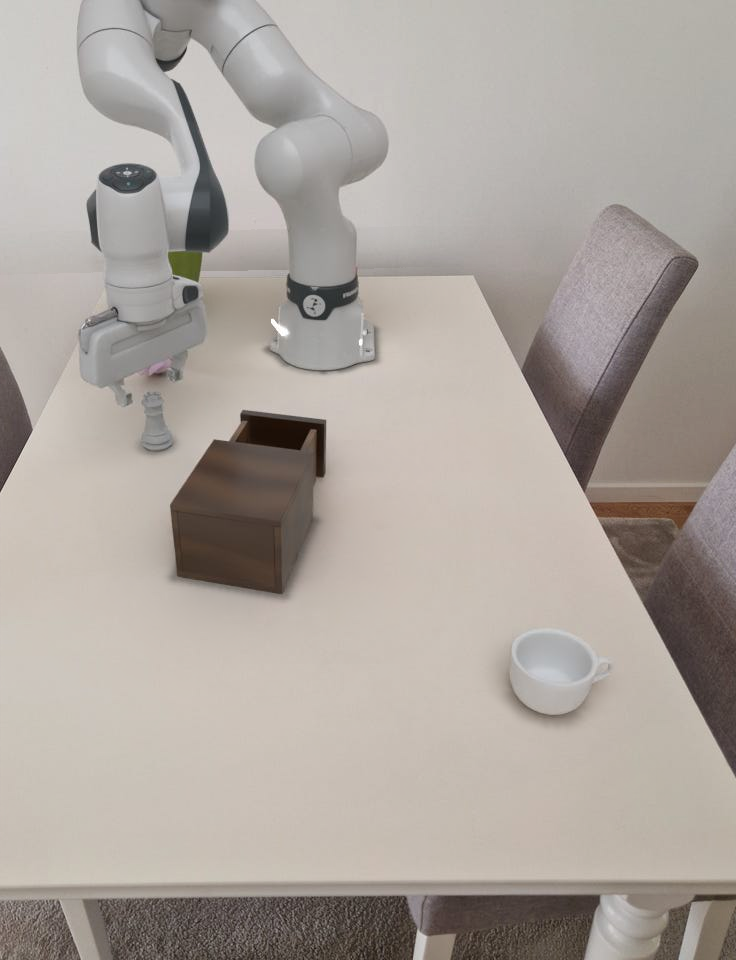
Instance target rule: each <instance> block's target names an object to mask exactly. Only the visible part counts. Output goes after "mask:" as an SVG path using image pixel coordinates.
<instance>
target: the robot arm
mask: <svg viewBox="0 0 736 960" xmlns="http://www.w3.org/2000/svg"><path fill="white" fill-rule="evenodd" d="M191 40H192V41H193V40H194V41H195V42H196V43H198V44H199V45H201V46H202V47H203V48H204V49H205V50H206V51H207V52H208V54H209V56H210V58H211V59H212V61H213V63H214V64H215V66H216V67H217V69H218V70H219V72H220V74H221V75H222V76H223V79H224V80H226V82H227V83H228V85H229V87H230V88H231V89H232V91H233V92H234V94H235V95H236V96H237V98H238V99H239V100H240V102H241V103H242V105H243V106H244V107H245V109H246V110H247V111H248V113H249V114H250V115H251V116H252V117H253V118H254V119H255V120H257V121H258V122H261V123H263V124H265V125H268V126H270V127H273V128H274V130H272V131H270V132H269V133H267V134H266V135H264V136H263V137H262V138H260V140H259V142H258V143H257V146H256V148H255V152H254V159H253V160H254V161H253V165H254V171H255V175H256V178H257V181H258V182H259V184H260V186H261V188H262V189H263V191H264V192H265V193H266V194H268V195H269V196H270V197H272V198H273V199H274V200H275V202H276V203H277V205H278V206H279V208H280V210H281V213H282V216H283V218H284V222H285V225H286V231H287V240H288V242H287V243H288V244H287V245H288V274H287V275H286V283H285V289H286V297H287V298H286V299H285V301H282V303H281V304H280V305H279V307H278V320H277V322H276V321H275V319H274V318H271V324H272V325H273V326H274V328H275V329H276V331H277V337H276V338H274V339H273V340H272V341H271V342H270V343H269V347H268V348H269V350H270V351H271V352H273V353H275V354H277V355H279V356H280V358H281V359H282V360H283V361H285V362H286V363H288V364H290V365H291V366H293V367H297V368H299V369H305V370H312V371H333V370H340V369H344V368H348V367H352V366H353V365H356V364H359V363H366V362H367V363H368V362H372V361H374V360H375V359H376V349H375V347H376V346H375V325H374V323H373V322H372V321H370V320H366V319H365V313H364V311H363V309H364V305H363V304H364V302H363V300H362V299H361V298H360V296H359V288H360V282H359V277H358V266H357V249H358V248H357V245H358V233H357V232H358V231H357V228H356V226H355V225H354V223H353V222H352V221H351V220H350V219H349V218H348V217H346V216H344V214H343V211H342V207H341V204H340V197H339V195H340V194H339V192H340V190H341V189H340V188H343V187H345V186H349V185H352V184H355V183H358V182H361V181H363V180H364V179H366V178H367V177H368V176H370V175H372V174H373V173H374V172H375V171H376V170H378V169H379V168H380V167H381V166H383V165H382V164H383V163H384V162H385V161H386V158H387V156H388V152H389V135H388V131H387V128H386V126H385V124H384V122H383V121H382V120H381V118H380V117H379V116H378V115H377V114H375V113H373V112H372V111H368V110H366V109H364V108H361V107H359V106H357V105H356V104H354V103H352V102H350V101H349V100H348V99H347V98H345V97H344V96H343V95H342V94H340V93H339V92H338V91H336V90H335V89H334V88H333V87H331V86H330V85H329V84H328V83H326V82H325V81H324V80H323V79H322V78H321V77H319V76H318V75H317V74H316V72H314V70H312V69H311V68H310V67H309V66H308V65H307V63H306V62H305V61H304V60H303V58H302V57H301V56H300V54H299V53H298V52H297V50H296V48H295V47H294V45H292V43H291V42H290V40H288V38H287V36H285V34H284V33H283V31H282V30H281V28H280V27H279V26H278V24H277V23H276V22H275V21H274V19H273V18H272V17H271V15H270V14H268V11H266V9H264V7H262V6H261V4H260V3H259V2H258V1H257V0H81V3H80V6H79V11H78V17H77V26H76V60H77V69H78V76H79V81H80V84H81V88H82V92H83V94H84V97H85V98H86V100H87V101H88V103H89V104H90V105H91V106H92V107H93V108H94V109H95V110H96V112H98V113H100V114H101V115H103V116H104V117H105V118H107V119H108V120H111V121H113V122H114V123H115V122H116V123H118V124H120V125H126V126H129V127H134V128H138V129H143V130H145V131H148V132H151V133H153V134H156V135H158V136H160V137H162V138H164V139H166V140H167V141H168V142H169V143H170V145H171V147H172V149H173V152H174V156H175V159H176V162H177V164H178V167H179V170H180V173H181V175H178V176H169V177H168V176H167V177H159V175H158V173H157V172H156V171H155V170H154V169H153V168H152V167H149V166H147V165H144V164H139V163H133V162H132V163H129V162H128V163H118V164H114V165H111V166H109V167H106V168H104V169H103V170H102V171H100V173H99V174H98V175H97V179H96V188H95V189H94V190H93V191H92V193H91V194H90V196H89V197H88V198H87V200H86V212H87V218H88V224H89V230H90V240H91V241H90V243H91V245H93V246H94V247H95V248H96V249H97V250H98V251H99V252H100V253H102V255H103V259H104V269H103V277H102V278H103V284H104V291H105V292H104V293H105V299H106V307H107V309H106V310H104V311H101V312H100V313H98V314H95V315H94V314H93V315H90V316H88V317H86V318H85V319H84V322H83V323H82V324H81V326H80V327H79V329H78V330H77V339H78V365H79V366H78V367H79V375H80V378H81V379H82V380H83V381H84V382H86V383H87V384H89V385H91V386H93V387H96V388H97V389H98V388H99V389H104V388H106V387H108V389H110V390H111V391H112V392H113V394H114V398H115V402H116V403H115V404H117V406H119V407H121V408H126V407H127V406H129V405H131V404H133V393H132V392H131V391H128V390H126V389H124V388H123V387H122V386H125V379H126V378H128V377H130V376H133V375H135V374H137V373H139V371H142V370H144V369H146V368H148V367H150V366H153V365H155V364H157V363H159V362H161V361H164V360H166V359H168V358H170V357H173V358H172V360H171V361H172V362H171V366H170V367H169V368H167V369H166V370H165V371H166V379H167V380H168V381H169V382H171V383H172V384H173V383H174V384H175V383H177V382H180V381H182V380H183V379H184V375H183V369H184V366H185V364H186V361H187V358H188V350H190V349H193V348H195V347H197V346H200V345H202V344H203V343H204V341H205V340H206V338H207V336H208V321H207V311H206V306H205V303H204V301H203V300H202V298H203V296H204V287H203V285H202V283H200V282H195V281H193V280H190V279H187V278H184V277H180V276H176V275H173V274H172V269H171V266H170V263H169V260H168V252H175V251H186V252H202V253H208V254H209V253H211V252H212V251H213V250H215V249H216V248H217V247H218V246H219V245H220V244H221V243H222V242H223V241H224V240H225V238H226V237H227V236H228V234H229V228H230V220H231V219H230V208H229V202H228V200H227V197H226V194H225V192H224V191H223V188H222V185H221V182H220V181H219V178H218V176H217V174H216V172H215V169H214V168H213V165H212V162H211V159H210V156H209V153H208V150H207V147H206V144H205V141H204V138H203V136H202V133H201V130H200V127H199V124H198V122H197V119H196V115H195V113H194V111H193V108H192V105H191V103H190V100H189V97H188V96H187V93H186V91H185V89H184V87H183V86H182V85H181V83H180V82H178V81H176V80H175V79H173V78H170V77H169V76H168V75H167V74H166V73H167V72H171V71H172V70H174V69H175V68H176V67H177V66H178V65H179V64H180V63H181V62H182V59H183V58H184V56H185V55H186V53H187V50H188V45H189V43H190V41H191Z"/></svg>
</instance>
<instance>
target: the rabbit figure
mask: <svg viewBox="0 0 736 960" xmlns="http://www.w3.org/2000/svg"><path fill="white" fill-rule="evenodd" d="M172 358H173V357H170V358H168V359H166V360H164V361H161V362H159V363H157V364H155V365H153V366H150V367H148V368H146V369H144V370H142V371H139V372H138V375H139V376H142V375H143V374H145V372H146V371H148V376H149V377H150V376H152V375H153V374H160V373H164V372H165V371H166V369H167V368H169V367H170V366H171V362H172Z"/></svg>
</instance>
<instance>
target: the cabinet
mask: <svg viewBox="0 0 736 960" xmlns="http://www.w3.org/2000/svg"><path fill="white" fill-rule="evenodd" d="M169 509H170V519H171V520H170V521H171V529H172V539H173V548H174V558H175V567H176V568H175V569H176V576H177V577H180V578H187V579H192V580H197V581H198V580H199V581H204V582H210V583H215V584H220V585H225V586H233V587H239V588H245V589H250V590H256V591H263V592H268V593H274V594H279V595H280V594H281V595H282V594H283V593H284V590H285V588H286V585H287V583H288V581H289V579H290V577H291V574H292V571H293V569H294V566H295V565H296V562H297V560H298V557H299V555H300V553H301V549H302V547H303V545H304V543H305V541H306V537H307V535H308V533H309V531H310V528H311V527H312V523H313V521H314V487H313V452H308V451H301V450H293V449H285V448H278V447H270V446H262V445H254V444H247V443H239V442H231V441H229V440H223V439H222V440H221V439H216V438H214V439H213V440H212V442H211V443H210V445H209V446H208V447H207V449H206V451H204V454H203V455H202V456H201V458H200V459H199V460H198V462H197V464H196V465H195V466H194V468H193V470H192V471H191V472H190V474H189V476H188V477H187V479H185V481H184V483H183V485H182V486H181V487H180V489H179V491H178V492H177V493H176V495H175V496H174V498H173V499H172V501H171V502H170V504H169Z"/></svg>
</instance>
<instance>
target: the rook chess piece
mask: <svg viewBox="0 0 736 960" xmlns="http://www.w3.org/2000/svg"><path fill="white" fill-rule="evenodd" d="M142 397H143V399H142V400H141V401H140V403H141V405H142V406H143V407H144V410H143V414H145V428H144V429H143V432H142V434H141V445H142V446H143V447H144V448H145V449H146V450H148V451H150V452H161V451H165V450H168V448H170V447H171V445H172V443H173V442H174V440H173V435H172V432H171V430H170V429H169V427H168V426H167V425H166V422H165V418H164V412H165V409H164V408H163V404H164V403H165V398H164V397H163V396H162V393H161V392H158V391H155V390H153V391H152V394H151V391H147V392H146V393H144V394H143V395H142Z"/></svg>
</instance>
